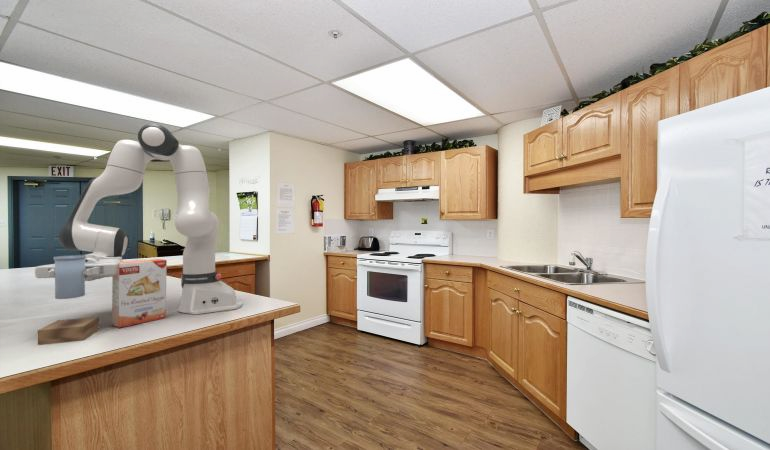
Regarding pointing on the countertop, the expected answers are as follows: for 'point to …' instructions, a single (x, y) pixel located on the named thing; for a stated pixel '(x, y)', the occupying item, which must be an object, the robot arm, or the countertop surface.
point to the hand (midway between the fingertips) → (68, 273)
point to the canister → (69, 276)
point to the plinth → (68, 330)
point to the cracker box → (139, 292)
